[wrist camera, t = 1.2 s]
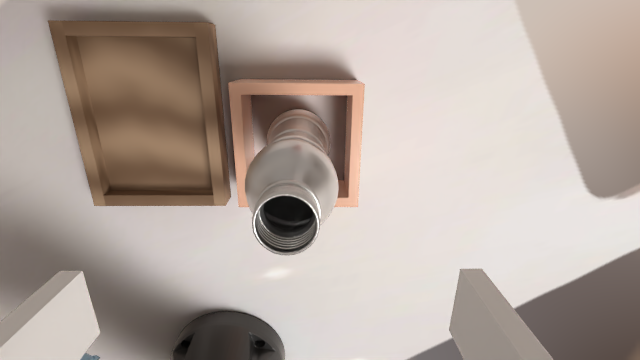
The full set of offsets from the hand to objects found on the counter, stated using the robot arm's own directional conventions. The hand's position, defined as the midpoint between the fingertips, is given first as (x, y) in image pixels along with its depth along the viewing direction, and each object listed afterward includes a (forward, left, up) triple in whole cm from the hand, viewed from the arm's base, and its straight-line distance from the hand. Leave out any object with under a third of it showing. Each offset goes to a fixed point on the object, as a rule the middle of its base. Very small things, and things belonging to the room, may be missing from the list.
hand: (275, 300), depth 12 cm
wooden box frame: (0, 0, -26) cm, 26 cm away
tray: (+2, +15, -26) cm, 30 cm away
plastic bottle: (0, 0, -26) cm, 26 cm away
